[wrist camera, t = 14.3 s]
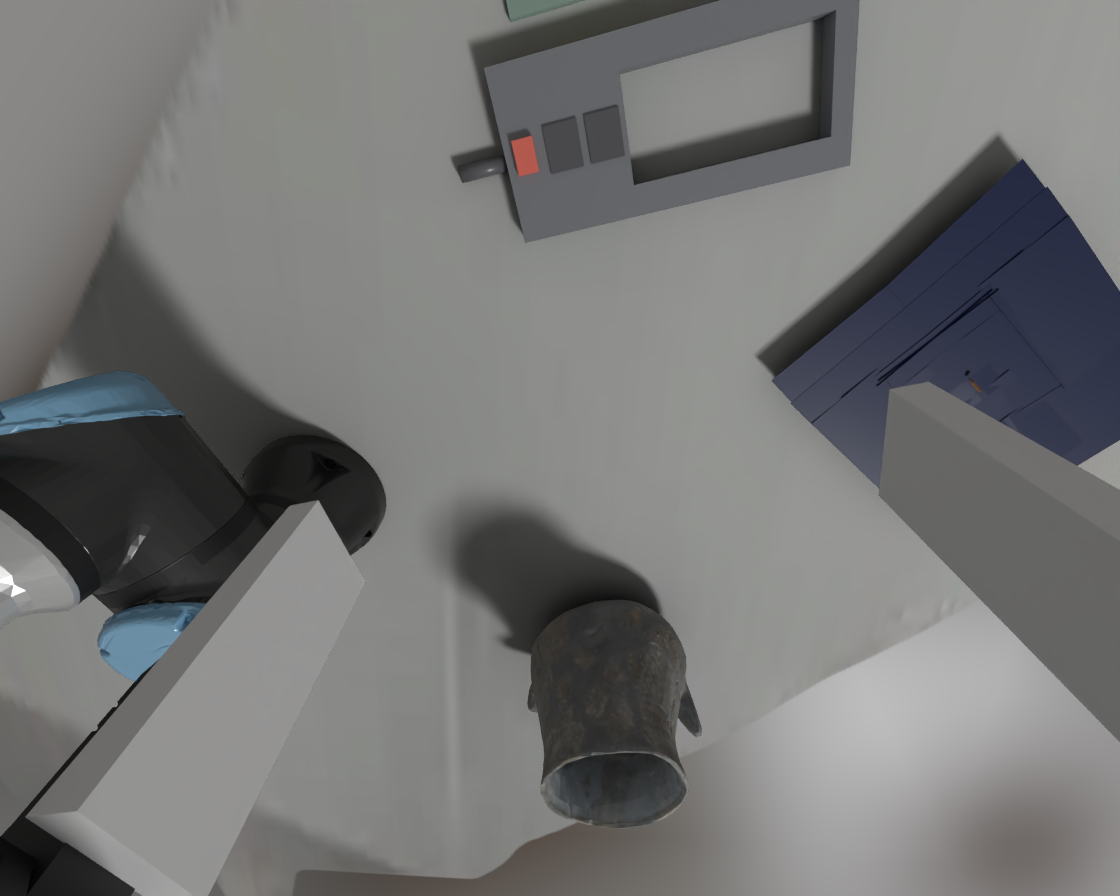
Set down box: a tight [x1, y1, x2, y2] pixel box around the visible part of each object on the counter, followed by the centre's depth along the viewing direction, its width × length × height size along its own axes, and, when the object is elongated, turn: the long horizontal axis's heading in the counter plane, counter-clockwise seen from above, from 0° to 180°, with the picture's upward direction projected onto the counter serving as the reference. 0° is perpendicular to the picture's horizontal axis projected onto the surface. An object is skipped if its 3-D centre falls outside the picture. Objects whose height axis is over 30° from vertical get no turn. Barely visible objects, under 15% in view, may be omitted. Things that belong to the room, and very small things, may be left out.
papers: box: [772, 159, 1120, 488], centre depth 47 cm, size 24×30×4 cm
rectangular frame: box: [458, 0, 860, 243], centre depth 37 cm, size 30×12×3 cm, turn 103°
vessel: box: [527, 600, 702, 828], centre depth 58 cm, size 22×22×20 cm
